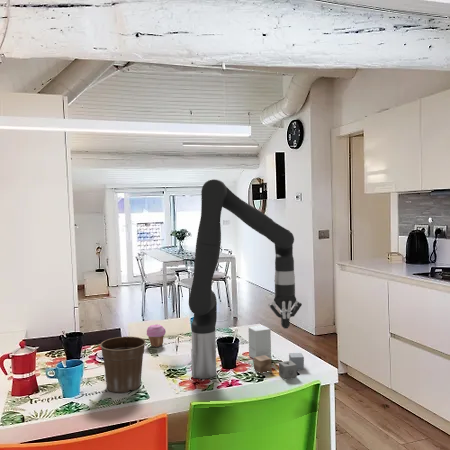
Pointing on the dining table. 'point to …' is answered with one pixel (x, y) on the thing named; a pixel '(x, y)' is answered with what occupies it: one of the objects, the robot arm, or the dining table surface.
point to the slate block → (297, 359)
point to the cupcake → (156, 334)
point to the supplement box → (259, 341)
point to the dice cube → (287, 369)
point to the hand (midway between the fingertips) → (285, 327)
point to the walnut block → (262, 363)
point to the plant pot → (123, 363)
